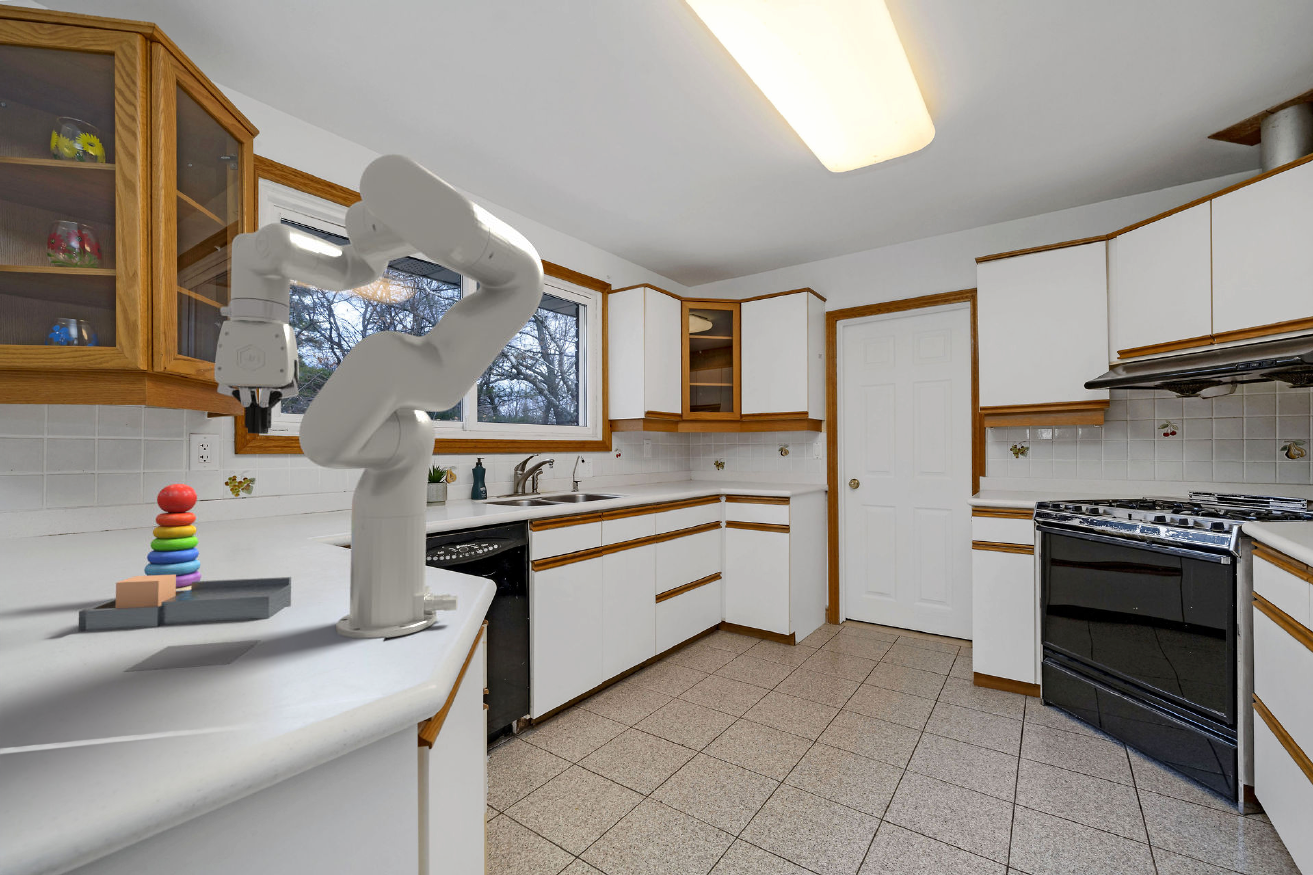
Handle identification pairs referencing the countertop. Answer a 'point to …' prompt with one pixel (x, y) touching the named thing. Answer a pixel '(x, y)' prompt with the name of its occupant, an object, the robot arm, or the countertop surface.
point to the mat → (194, 655)
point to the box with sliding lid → (196, 605)
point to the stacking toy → (175, 537)
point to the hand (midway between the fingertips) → (258, 433)
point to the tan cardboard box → (145, 591)
